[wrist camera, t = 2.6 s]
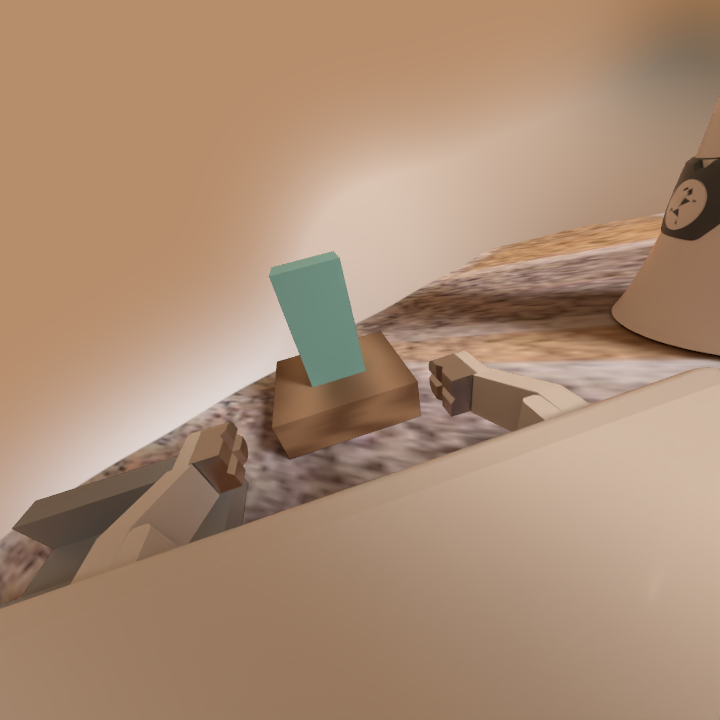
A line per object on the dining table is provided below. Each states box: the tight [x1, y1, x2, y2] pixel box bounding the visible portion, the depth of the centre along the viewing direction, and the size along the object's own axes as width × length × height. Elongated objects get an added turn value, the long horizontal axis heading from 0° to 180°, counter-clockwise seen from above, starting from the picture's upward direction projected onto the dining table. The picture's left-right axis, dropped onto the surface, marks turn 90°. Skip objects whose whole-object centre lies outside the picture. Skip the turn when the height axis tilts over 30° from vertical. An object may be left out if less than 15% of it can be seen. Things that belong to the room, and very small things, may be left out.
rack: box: [0, 456, 248, 609], centre depth 15 cm, size 12×8×5 cm, turn 104°
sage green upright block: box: [269, 252, 366, 387], centre depth 22 cm, size 5×3×10 cm, turn 104°
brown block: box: [272, 331, 421, 459], centre depth 25 cm, size 12×10×4 cm
